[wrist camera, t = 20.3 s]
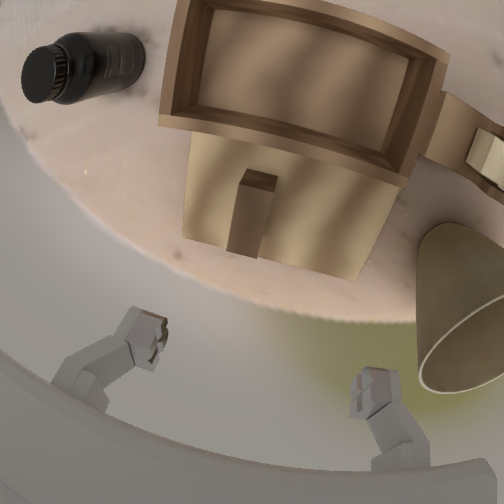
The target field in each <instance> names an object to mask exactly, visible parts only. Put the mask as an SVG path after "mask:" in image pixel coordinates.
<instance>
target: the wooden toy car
mask: <svg viewBox="0 0 504 504" xmlns="http://www.w3.org/2000/svg"><path fill="white" fill-rule="evenodd" d="M466 162H467V163H468V164H469V165H471V166H472V167H473V168H474V169H476V170H477V171H478V172H480V173H481V174H483V175H484V176H486V177H487V178H489V179H491V180H492V181H494V182H495V183H497V184H499V185H500V186H502V187H503V188H504V142H503V141H501V140H500V139H499V138H497V137H496V136H494V135H492V134H490V133H488V132H486V131H484V130H482V129H480V128H478V130H477V133H476V136H475V138H474V141H473V144H472V146H471V149H470V152H469V154H468V157H467V159H466Z"/></svg>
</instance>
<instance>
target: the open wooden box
mask: <svg viewBox="0 0 504 504" xmlns="http://www.w3.org/2000/svg"><path fill="white" fill-rule="evenodd" d="M449 58H450V54H449V53H447V52H446V51H444V50H442V49H440V48H439V47H437V46H435V45H433V44H431V43H429V42H428V41H426V40H424V39H422V38H420V37H418V36H416V35H414V34H412V33H409V32H407V31H405V30H403V29H401V28H399V27H396V26H394V25H392V24H389V23H387V22H384V21H382V20H379V19H377V18H374V17H372V16H369V15H366V14H363V13H361V12H358V11H355V10H352V9H349V8H345V7H342V6H339V5H336V4H332V3H329V2H325V1H321V0H178V1H177V5H176V10H175V14H174V19H173V24H172V29H171V34H170V40H169V45H168V51H167V57H166V63H165V70H164V77H163V84H162V92H161V100H160V109H159V119H158V126H162V127H169V128H176V129H182V130H188V131H194V132H200V133H206V134H211V135H216V136H221V137H227V138H231V139H236V140H241V141H245V142H250V143H254V144H259V145H263V146H267V147H271V148H275V149H279V150H283V151H287V152H291V153H294V154H298V155H302V156H305V157H309V158H312V159H316V160H319V161H323V162H326V163H329V164H333V165H336V166H339V167H342V168H345V169H348V170H351V171H355V172H357V173H360V174H363V175H366V176H369V177H372V178H375V179H378V180H380V181H383V182H386V183H389V184H391V185H394V186H397V187H399V188H402V189H405V187H406V184H407V182H408V179H409V177H410V175H411V172H412V170H413V167H414V165H415V162H416V160H417V157H418V155H419V153H420V154H421V155H423V156H424V157H426V158H428V159H430V160H432V161H434V162H436V163H438V164H440V165H442V166H444V167H446V168H448V169H450V170H452V171H454V172H456V173H458V174H460V175H462V176H464V177H465V178H467V179H469V180H471V181H472V182H473V183H475V184H476V185H477V186H478V187H479V188H480V189H481V190H482V191H483V192H484V193H486V194H487V195H488V196H490V197H491V198H493V199H495V200H496V201H498V202H500V203H501V204H503V205H504V191H503V190H502V189H501V188H499V187H498V184H497V183H495V182H494V181H492V180H491V179H489V178H487V177H486V176H484V175H483V174H481V173H480V172H478V171H477V170H476V169H474V168H473V167H472V166H471V165H469V164H468V163H467V162H466V159H467V157H468V154H469V152H470V149H471V146H472V144H473V141H474V138H475V136H476V133H477V130H478V128H480V129H482V130H484V131H486V132H488V133H490V134H492V135H494V136H496V137H497V138H499V139H500V140H501V141H503V142H504V127H503V126H501V125H498V124H496V123H494V122H493V121H491V120H490V119H488V118H487V117H486V116H484V115H483V114H481V113H480V112H478V111H477V110H475V109H474V108H472V107H471V106H469V105H467V104H466V103H464V102H463V101H461V100H459V99H458V98H456V97H454V96H453V95H451V94H449V93H447V92H444V91H441V88H442V84H443V81H444V77H445V73H446V70H447V66H448V62H449Z"/></svg>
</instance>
